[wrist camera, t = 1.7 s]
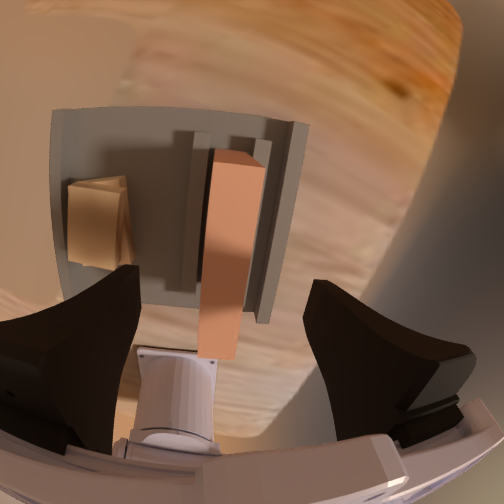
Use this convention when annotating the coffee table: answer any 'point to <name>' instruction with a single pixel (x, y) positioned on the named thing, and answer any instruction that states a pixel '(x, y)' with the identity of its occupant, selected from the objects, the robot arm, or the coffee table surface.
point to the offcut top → (95, 224)
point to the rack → (175, 192)
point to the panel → (227, 250)
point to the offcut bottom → (127, 235)
